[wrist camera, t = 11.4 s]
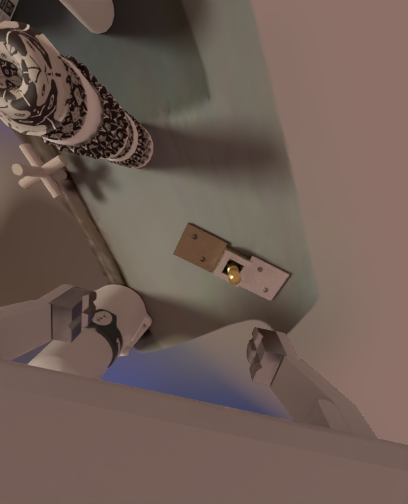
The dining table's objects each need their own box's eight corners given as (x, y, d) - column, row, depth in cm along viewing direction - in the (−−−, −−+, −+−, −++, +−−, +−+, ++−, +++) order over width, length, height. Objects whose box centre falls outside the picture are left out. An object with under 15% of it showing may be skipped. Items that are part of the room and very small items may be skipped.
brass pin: (235, 268, 46) (240, 285, 37) (225, 266, 46) (227, 283, 37) (236, 258, 45) (242, 274, 36) (226, 257, 45) (229, 272, 36)
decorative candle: (101, 136, 39) (-80, 44, 15) (139, 110, 37) (1, -42, 13) (127, 178, 41) (5, 158, 17) (163, 155, 39) (84, 97, 15)
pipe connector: (66, 139, 39) (18, 122, 30) (94, 185, 42) (59, 184, 32) (30, 163, 41) (-26, 154, 31) (59, 206, 43) (16, 210, 34)
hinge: (287, 272, 45) (294, 280, 41) (269, 298, 48) (274, 308, 44) (188, 222, 43) (185, 225, 39) (174, 252, 45) (170, 258, 41)
